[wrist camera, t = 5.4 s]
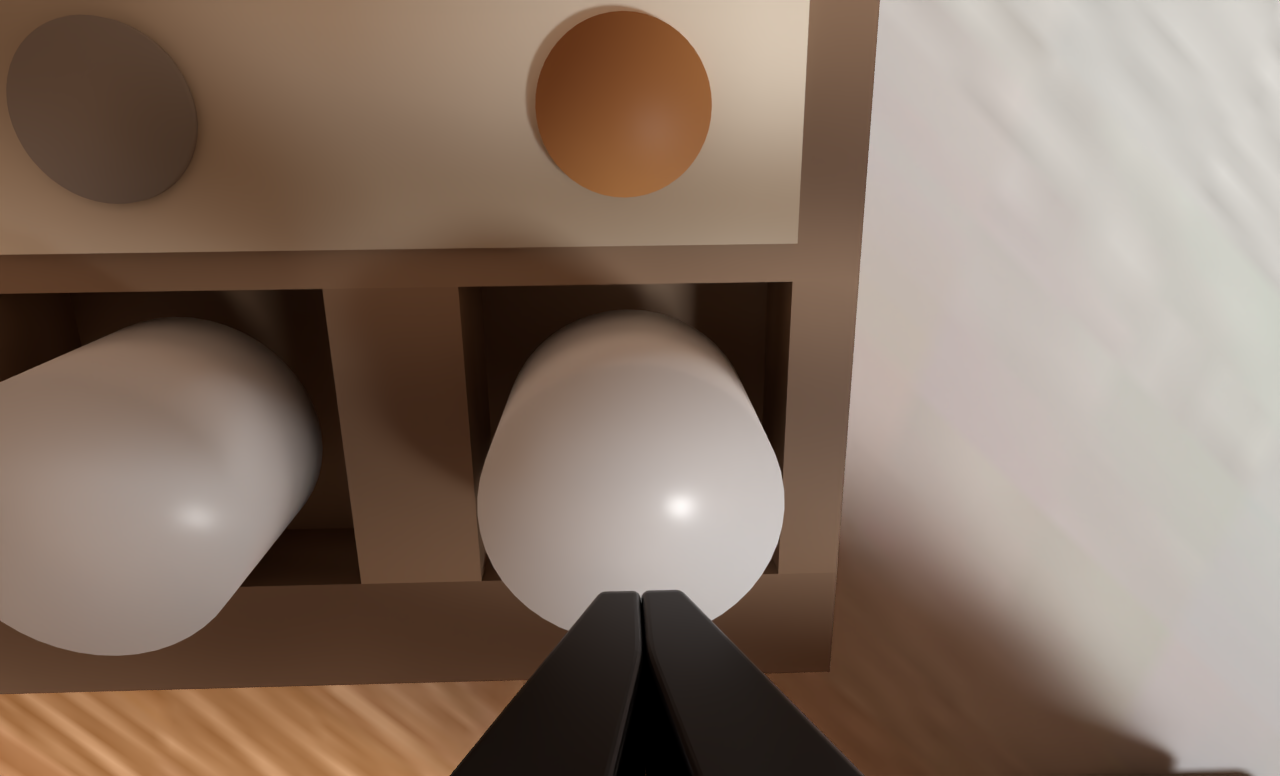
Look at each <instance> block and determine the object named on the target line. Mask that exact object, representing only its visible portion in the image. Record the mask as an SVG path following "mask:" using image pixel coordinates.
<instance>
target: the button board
mask: <svg viewBox="0 0 1280 776" xmlns="http://www.w3.org/2000/svg"><path fill="white" fill-rule="evenodd" d="M879 4H880V0H0V382H2V381H4V380H7V379H9V378H11V377H13V376H16V375H18V374H20V373H23V372H25V371H27V370H29V369H32V368H34V367H36V366H39V365H41V364H43V363H45V362H48V361H50V360H52V359H55V358H57V357H59V356H61V355H64V354H66V353H68V352H70V351H73V350H75V349H77V348H80V347H82V346H84V345H86V344H89V343H91V342H93V341H96V340H98V339H100V338H102V337H105V336H107V335H109V334H111V333H114V332H116V331H118V330H121V329H123V328H125V327H128V326H130V325H133V324H136V323H139V322H141V321H146V320H151V319H155V318H164V317H192V318H198V319H204V320H209V321H213V322H216V323H220V324H223V325H226V326H229V327H231V328H233V329H236V330H238V331H241V332H243V333H245V334H246V335H248V336H250V337H252V338H253V339H255V340H257V341H259V342H260V343H261V344H263V345H264V346H265V347H267V348H268V349H270V350H271V351H272V352H273V353H275V354H276V355H277V356H278V357H279V358H280V359H281V360H282V361H283V362H284V363H285V364H286V365H287V366H288V367H289V368H290V369H291V370H292V372H293V373H294V374H295V375H296V376H297V378H298V379H299V381H300V382H301V384H302V385H303V387H304V388H305V390H306V391H307V393H308V395H309V397H310V399H311V401H312V403H313V405H314V408H315V411H316V414H317V417H318V420H319V424H320V429H321V434H322V447H323V451H322V464H321V468H320V473H319V477H318V480H317V482H316V485H315V487H314V490H313V492H312V493H311V495H310V497H309V499H308V500H307V502H306V503H305V505H304V506H303V507H302V508H301V510H300V511H299V512H298V513H297V515H296V516H295V517H294V519H293V520H292V521H291V522H290V524H289V525H288V526H287V527H286V529H285V530H284V531H283V532H282V534H281V535H280V536H279V538H278V539H277V540H276V541H275V543H274V544H273V545H272V546H271V548H270V549H269V550H268V551H267V553H266V554H265V555H264V556H263V558H262V559H261V560H260V562H259V563H258V564H257V565H256V567H255V568H254V569H253V570H252V572H251V573H250V574H249V575H248V577H247V578H246V579H245V581H244V582H243V583H242V584H241V586H240V587H239V588H238V589H237V591H236V592H235V593H234V594H233V596H232V597H231V598H230V600H229V601H228V602H227V603H226V605H225V606H224V607H223V608H222V609H221V611H220V612H219V613H218V614H217V616H216V617H215V618H213V619H212V620H211V621H210V622H209V623H208V624H207V625H206V626H205V627H203V628H202V629H200V630H199V631H197V632H196V633H194V634H193V635H191V636H190V637H188V638H186V639H184V640H182V641H180V642H178V643H176V644H174V645H171V646H168V647H165V648H162V649H159V650H156V651H151V652H146V653H141V654H134V655H122V656H108V655H93V654H86V653H78V652H74V651H70V650H66V649H61V648H58V647H55V646H52V645H49V644H46V643H43V642H40V641H38V640H35V639H33V638H31V637H29V636H27V635H25V634H22V633H20V632H18V631H17V630H15V629H13V628H12V627H10V626H8V625H6V624H5V623H3V622H1V621H0V694H25V693H62V692H99V691H135V690H172V689H209V688H245V687H282V686H319V685H356V684H392V683H429V682H466V681H502V680H529V678H530V677H531V676H532V675H533V674H534V672H535V671H536V670H537V669H538V667H539V666H540V665H541V664H542V663H543V661H544V660H545V659H546V658H547V656H548V655H549V654H550V653H551V652H552V650H553V649H554V648H555V647H556V645H557V644H558V643H559V642H560V641H561V639H562V638H563V637H564V636H565V634H566V633H567V632H568V630H565V629H563V628H560V627H558V626H556V625H554V624H553V623H551V622H549V621H547V620H545V619H543V618H542V617H540V616H539V615H538V614H536V613H535V612H533V611H532V610H530V609H529V608H528V607H527V606H526V605H524V604H523V603H522V602H521V601H520V600H519V599H518V598H517V597H516V596H515V595H514V594H513V593H512V592H511V591H510V590H509V588H508V587H507V586H506V585H505V584H504V582H503V581H502V580H501V578H500V576H499V575H498V573H497V572H496V570H495V569H494V567H493V565H492V563H491V561H490V559H489V557H488V554H487V552H486V550H485V547H484V544H483V540H482V537H481V534H480V528H479V521H478V513H477V496H478V489H479V482H480V477H481V473H482V470H483V466H484V463H485V460H486V457H487V454H488V452H489V449H490V446H491V444H492V441H493V438H494V435H495V433H496V430H497V427H498V425H499V422H500V419H501V417H502V414H503V411H504V408H505V406H506V403H507V400H508V398H509V395H510V392H511V390H512V387H513V385H514V382H515V380H516V378H517V376H518V374H519V372H520V370H521V368H522V367H523V365H524V364H525V362H526V361H527V359H528V358H529V357H530V355H531V354H532V353H533V352H534V351H535V350H536V348H537V347H538V346H539V345H540V344H542V343H543V342H544V341H545V340H546V339H547V338H548V337H549V336H551V335H552V334H554V333H555V332H557V331H558V330H560V329H561V328H562V327H564V326H566V325H568V324H570V323H572V322H574V321H576V320H578V319H581V318H584V317H587V316H590V315H592V314H597V313H601V312H606V311H613V310H625V309H628V310H644V311H650V312H656V313H660V314H663V315H667V316H670V317H673V318H676V319H678V320H680V321H682V322H684V323H686V324H689V325H690V326H692V327H694V328H695V329H697V330H698V331H700V332H701V333H703V334H704V335H705V336H707V337H708V338H709V339H710V340H711V341H712V342H714V343H715V344H716V345H717V346H718V347H719V349H720V350H721V351H722V352H723V353H724V354H725V355H726V357H727V358H728V360H729V361H730V363H731V364H732V365H733V367H734V368H735V371H736V373H737V375H738V377H739V379H740V381H741V383H742V385H743V387H744V389H745V391H746V393H747V395H748V398H749V400H750V402H751V404H752V406H753V408H754V410H755V412H756V415H757V417H758V419H759V421H760V423H761V425H762V427H763V429H764V431H765V434H766V436H767V438H768V440H769V442H770V444H771V446H772V448H773V450H774V453H775V455H776V458H777V461H778V464H779V467H780V470H781V475H782V481H783V487H784V516H783V524H782V529H781V533H780V536H779V540H778V544H777V546H776V548H775V551H774V553H773V555H772V558H771V560H770V562H769V563H768V565H767V567H766V569H765V570H764V572H763V574H762V575H761V577H760V578H759V579H758V580H757V582H756V583H755V584H754V586H753V587H752V588H751V589H750V590H749V591H748V592H747V593H746V594H745V595H744V596H743V597H742V598H741V599H740V600H739V601H738V602H737V603H736V604H735V605H734V606H732V607H731V608H730V609H728V610H727V611H726V612H724V613H723V614H722V615H720V616H718V617H717V618H715V619H713V620H712V622H713V623H714V624H715V625H716V626H717V627H718V628H719V629H720V630H721V631H722V632H723V633H724V634H725V635H726V636H727V637H728V638H729V639H730V640H731V641H732V642H733V643H734V644H735V645H736V646H737V647H738V648H739V649H740V650H741V651H742V652H743V653H744V654H745V655H746V656H747V657H748V658H749V659H750V660H751V661H752V662H753V663H754V664H755V665H756V666H757V667H758V668H759V669H760V670H761V671H762V672H763V673H796V672H830V658H831V645H832V631H833V618H834V605H835V591H836V578H837V565H838V551H839V538H840V525H841V511H842V498H843V485H844V471H845V458H846V444H847V431H848V418H849V404H850V391H851V378H852V364H853V351H854V338H855V324H856V311H857V298H858V284H859V271H860V258H861V244H862V231H863V217H864V204H865V191H866V177H867V164H868V151H869V137H870V124H871V111H872V97H873V84H874V71H875V57H876V44H877V31H878V17H879Z"/></svg>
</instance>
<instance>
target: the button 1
mask: <svg viewBox="0 0 1280 776" xmlns="http://www.w3.org/2000/svg"><path fill="white" fill-rule="evenodd" d="M477 513H478V521H479V528H480V534H481V537H482V540H483V544H484V547H485V550H486V552H487V554H488V557H489V559H490V561H491V563H492V565H493V567H494V569H495V570H496V572H497V573H498V575H499V576H500V578H501V580H502V581H503V582H504V584H505V585H506V586H507V587H508V588H509V590H510V591H511V592H512V593H513V594H514V595H515V596H516V597H517V598H518V599H519V600H520V601H521V602H522V603H523V604H524V605H526V606H527V607H528V608H529V609H530V610H532V611H533V612H535V613H536V614H538V615H539V616H540V617H542V618H543V619H545V620H547V621H549V622H551V623H553V624H554V625H556V626H558V627H560V628H563V629H565V630H568V631H569V630H570V628H571V627H572V626H573V625H574V623H575V622H576V621H577V620H578V619H579V617H580V616H581V615H582V614H583V612H584V611H585V610H586V609H587V608H588V606H589V605H590V604H591V603H592V601H593V600H594V599H595V598H596V597H597V595H598V594H600V593H601V592H604V591H636V592H637V593H639V595H640V597H641V596H642V594H643V593H644V592H646V591H648V590H680V591H682V592H684V593H685V594H686V595H687V596H688V597H689V598H690V599H691V600H692V601H693V602H694V603H695V604H696V605H697V606H698V607H699V608H700V609H701V611H702V612H703V613H704V614H705V615H706V616H707V617H708V618H709V619H710V620H711V621H712V620H713V619H715V618H717V617H718V616H720V615H722V614H723V613H724V612H726V611H727V610H728V609H730V608H731V607H732V606H734V605H735V604H736V603H737V602H738V601H739V600H740V599H741V598H742V597H743V596H744V595H745V594H746V593H747V592H748V591H749V590H750V589H751V588H752V587H753V586H754V584H755V583H756V582H757V580H758V579H759V578H760V577H761V575H762V574H763V572H764V570H765V569H766V567H767V565H768V563H769V562H770V560H771V558H772V555H773V553H774V551H775V548H776V546H777V544H778V540H779V536H780V533H781V529H782V524H783V516H784V487H783V481H782V475H781V470H780V467H779V464H778V461H777V458H776V455H775V453H774V450H773V448H772V446H771V444H770V442H769V440H768V438H767V436H766V434H765V431H764V429H763V427H762V425H761V423H760V421H759V419H758V417H757V415H756V412H755V410H754V408H753V406H752V404H751V402H750V400H749V398H748V395H747V393H746V391H745V389H744V387H743V385H742V383H741V381H740V379H739V377H738V375H737V373H736V371H735V368H734V367H733V365H732V364H731V363H730V361H729V360H728V358H727V357H726V355H725V354H724V353H723V352H722V351H721V350H720V349H719V347H718V346H717V345H716V344H715V343H714V342H712V341H711V340H710V339H709V338H708V337H707V336H705V335H704V334H703V333H701V332H700V331H698V330H697V329H695V328H694V327H692V326H690V325H689V324H686V323H684V322H682V321H680V320H678V319H676V318H673V317H670V316H667V315H663V314H660V313H656V312H650V311H644V310H628V309H625V310H613V311H606V312H601V313H597V314H592V315H590V316H587V317H584V318H581V319H578V320H576V321H574V322H572V323H570V324H568V325H566V326H564V327H562V328H561V329H560V330H558V331H557V332H555V333H554V334H552V335H551V336H549V337H548V338H547V339H546V340H545V341H544V342H543V343H542V344H540V345H539V346H538V347H537V348H536V350H535V351H534V352H533V353H532V354H531V355H530V357H529V358H528V359H527V361H526V362H525V364H524V365H523V367H522V368H521V370H520V372H519V374H518V376H517V378H516V380H515V382H514V385H513V387H512V390H511V392H510V395H509V398H508V400H507V403H506V406H505V408H504V411H503V414H502V417H501V419H500V422H499V425H498V427H497V430H496V433H495V435H494V438H493V441H492V444H491V446H490V449H489V452H488V454H487V457H486V460H485V463H484V466H483V470H482V473H481V477H480V482H479V489H478V496H477Z"/></svg>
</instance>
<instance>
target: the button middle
mask: <svg viewBox="0 0 1280 776" xmlns="http://www.w3.org/2000/svg"><path fill="white" fill-rule="evenodd" d="M322 451H323V447H322V434H321V429H320V424H319V420H318V417H317V414H316V411H315V408H314V405H313V403H312V401H311V399H310V397H309V395H308V393H307V391H306V390H305V388H304V387H303V385H302V384H301V382H300V381H299V379H298V378H297V376H296V375H295V374H294V373H293V372H292V370H291V369H290V368H289V367H288V366H287V365H286V364H285V363H284V362H283V361H282V360H281V359H280V358H279V357H278V356H277V355H276V354H275V353H273V352H272V351H271V350H270V349H268V348H267V347H265V346H264V345H263V344H261V343H260V342H259V341H257V340H255V339H253V338H252V337H250V336H248V335H246V334H245V333H243V332H241V331H238V330H236V329H233V328H231V327H229V326H226V325H223V324H220V323H216V322H213V321H209V320H204V319H198V318H192V317H164V318H155V319H151V320H146V321H141V322H139V323H136V324H133V325H130V326H128V327H125V328H123V329H121V330H118V331H116V332H114V333H111V334H109V335H107V336H105V337H102V338H100V339H98V340H96V341H93V342H91V343H89V344H86V345H84V346H82V347H80V348H77V349H75V350H73V351H70V352H68V353H66V354H64V355H61V356H59V357H57V358H55V359H52V360H50V361H48V362H45V363H43V364H41V365H39V366H36V367H34V368H32V369H29V370H27V371H25V372H23V373H20V374H18V375H16V376H13V377H11V378H9V379H7V380H4V381H2V382H0V621H1V622H3V623H5V624H6V625H8V626H10V627H12V628H13V629H15V630H17V631H18V632H20V633H22V634H25V635H27V636H29V637H31V638H33V639H35V640H38V641H40V642H43V643H46V644H49V645H52V646H55V647H58V648H61V649H66V650H70V651H74V652H78V653H86V654H93V655H108V656H122V655H134V654H141V653H146V652H151V651H156V650H159V649H162V648H165V647H168V646H171V645H174V644H176V643H178V642H180V641H182V640H184V639H186V638H188V637H190V636H191V635H193V634H194V633H196V632H197V631H199V630H200V629H202V628H203V627H205V626H206V625H207V624H208V623H209V622H210V621H211V620H212V619H213V618H215V617H216V616H217V614H218V613H219V612H220V611H221V609H222V608H223V607H224V606H225V605H226V603H227V602H228V601H229V600H230V598H231V597H232V596H233V594H234V593H235V592H236V591H237V589H238V588H239V587H240V586H241V584H242V583H243V582H244V581H245V579H246V578H247V577H248V575H249V574H250V573H251V572H252V570H253V569H254V568H255V567H256V565H257V564H258V563H259V562H260V560H261V559H262V558H263V556H264V555H265V554H266V553H267V551H268V550H269V549H270V548H271V546H272V545H273V544H274V543H275V541H276V540H277V539H278V538H279V536H280V535H281V534H282V532H283V531H284V530H285V529H286V527H287V526H288V525H289V524H290V522H291V521H292V520H293V519H294V517H295V516H296V515H297V513H298V512H299V511H300V510H301V508H302V507H303V506H304V505H305V503H306V502H307V500H308V499H309V497H310V495H311V493H312V492H313V490H314V487H315V485H316V482H317V480H318V477H319V473H320V468H321V464H322Z"/></svg>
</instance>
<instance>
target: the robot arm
mask: <svg viewBox="0 0 1280 776" xmlns="http://www.w3.org/2000/svg"><path fill="white" fill-rule="evenodd" d="M450 776H864V774H863V773H862V772H861V771H860V770H859V769H858V768H857V767H856V766H855V765H854V764H853V763H852V762H851V761H850V760H849V759H848V758H847V757H846V756H845V755H844V754H843V753H842V752H841V751H840V750H839V749H838V748H837V747H836V746H835V745H834V744H833V743H832V742H831V741H830V740H829V739H828V738H827V737H826V736H825V735H824V734H823V733H822V732H821V731H820V730H819V729H818V728H817V727H816V726H815V725H814V724H813V723H812V722H811V721H810V720H809V719H808V718H807V717H806V716H805V715H804V714H803V713H802V712H801V711H800V710H799V709H798V708H797V707H796V706H795V705H794V704H793V703H792V702H791V701H790V700H789V699H788V698H787V697H786V696H785V695H784V693H783V692H782V691H781V690H780V689H779V688H778V687H777V686H776V685H775V684H774V683H773V682H772V681H771V680H770V679H769V678H768V677H767V676H766V675H765V674H764V673H763V672H762V671H761V670H760V669H759V668H758V667H757V666H756V665H755V664H754V663H753V662H752V661H751V660H750V659H749V658H748V657H747V656H746V655H745V654H744V653H743V652H742V651H741V650H740V649H739V648H738V647H737V646H736V645H735V644H734V643H733V642H732V641H731V640H730V639H729V638H728V637H727V636H726V635H725V634H724V633H723V632H722V631H721V630H720V629H719V628H718V627H717V626H716V625H715V624H714V623H713V622H712V621H711V620H710V619H709V618H708V617H707V616H706V615H705V614H704V613H703V612H702V611H701V609H700V608H699V607H698V606H697V605H696V604H695V603H694V602H693V601H692V600H691V599H690V598H689V597H688V596H687V595H686V594H685V593H684V592H682V591H680V590H648V591H646V592H644V593H643V594H642V596H641V597H640V595H639V593H637V592H636V591H604V592H601V593H600V594H598V595H597V597H596V598H595V599H594V600H593V601H592V603H591V604H590V605H589V606H588V608H587V609H586V610H585V611H584V612H583V614H582V615H581V616H580V617H579V619H578V620H577V621H576V622H575V623H574V625H573V626H572V627H571V628H570V630H569V631H568V632H567V633H566V634H565V636H564V637H563V638H562V639H561V641H560V642H559V643H558V644H557V645H556V647H555V648H554V649H553V650H552V652H551V653H550V654H549V655H548V656H547V658H546V659H545V660H544V661H543V663H542V664H541V665H540V666H539V667H538V669H537V670H536V671H535V672H534V674H533V675H532V676H531V677H530V678H529V680H528V681H527V682H526V683H525V685H524V686H523V687H522V688H521V689H520V691H519V692H518V693H517V694H516V696H515V697H514V698H513V699H512V700H511V702H510V703H509V704H508V705H507V707H506V708H505V709H504V710H503V711H502V713H501V714H500V715H499V716H498V718H497V719H496V720H495V721H494V722H493V724H492V725H491V726H490V727H489V729H488V730H487V731H486V732H485V733H484V735H483V736H482V737H481V738H480V740H479V741H478V742H477V743H476V744H475V746H474V747H473V748H472V749H471V750H470V752H469V753H468V754H467V755H466V757H465V758H464V759H463V760H462V761H461V763H460V764H459V765H458V766H457V768H456V769H455V770H454V771H453V772H452V774H451V775H450Z"/></svg>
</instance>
